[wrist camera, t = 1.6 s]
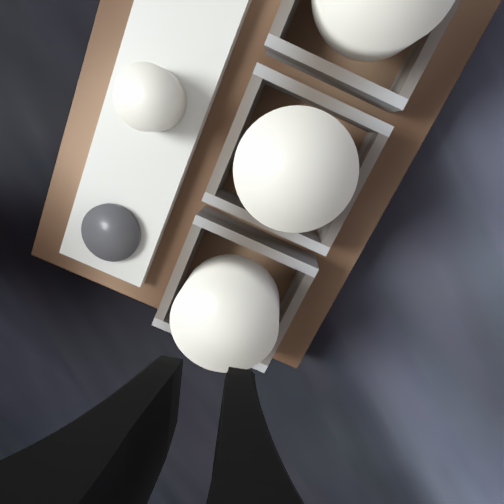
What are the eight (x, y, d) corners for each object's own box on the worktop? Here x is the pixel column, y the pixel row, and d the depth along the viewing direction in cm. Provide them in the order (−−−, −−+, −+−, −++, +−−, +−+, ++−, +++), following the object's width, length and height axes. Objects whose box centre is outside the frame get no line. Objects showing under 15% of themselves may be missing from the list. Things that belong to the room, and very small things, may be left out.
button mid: (368, 137, 14) (383, 138, 12) (318, 235, 16) (323, 252, 13) (266, 89, 14) (263, 82, 12) (223, 192, 15) (214, 203, 13)
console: (492, -6, 16) (546, -42, 13) (295, 352, 21) (297, 393, 18) (166, -168, 15) (133, -251, 12) (48, 245, 21) (3, 268, 17)
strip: (287, -94, 14) (288, -130, 12) (144, 282, 19) (128, 300, 17) (184, -145, 14) (167, -190, 12) (66, 248, 19) (40, 263, 17)
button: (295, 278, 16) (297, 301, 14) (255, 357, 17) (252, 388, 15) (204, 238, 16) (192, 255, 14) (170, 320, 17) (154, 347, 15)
